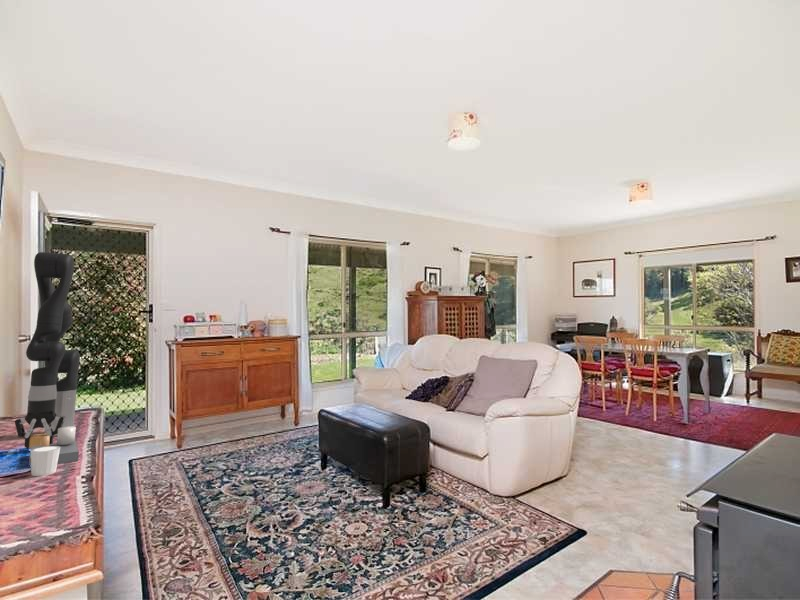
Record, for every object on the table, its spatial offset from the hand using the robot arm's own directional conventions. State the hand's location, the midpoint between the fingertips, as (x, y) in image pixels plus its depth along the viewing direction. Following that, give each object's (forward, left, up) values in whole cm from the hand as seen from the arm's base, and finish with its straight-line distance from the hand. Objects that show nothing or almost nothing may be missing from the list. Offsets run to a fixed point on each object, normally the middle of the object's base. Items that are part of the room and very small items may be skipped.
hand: (38, 447), depth 148 cm
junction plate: (+13, +8, -1) cm, 15 cm away
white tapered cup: (+29, +10, -1) cm, 31 cm away
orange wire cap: (0, 0, -1) cm, 1 cm away
